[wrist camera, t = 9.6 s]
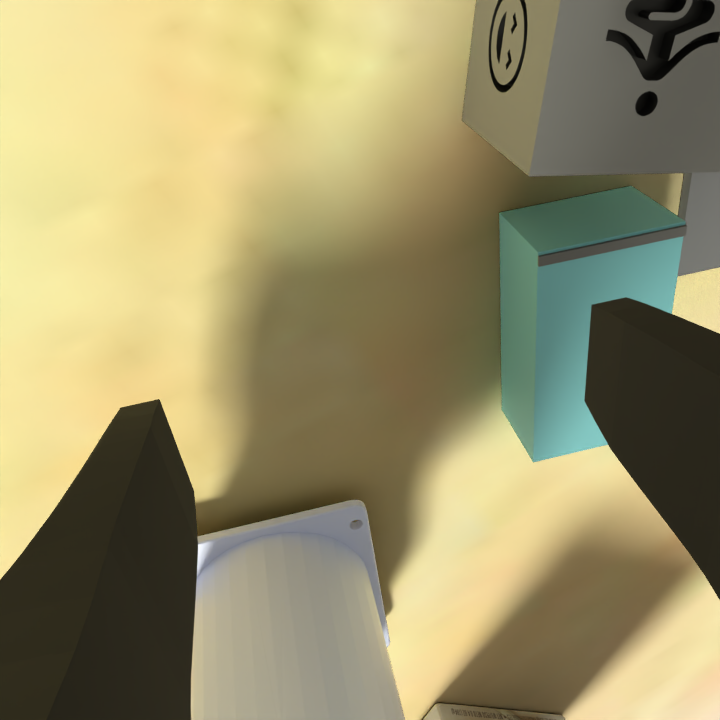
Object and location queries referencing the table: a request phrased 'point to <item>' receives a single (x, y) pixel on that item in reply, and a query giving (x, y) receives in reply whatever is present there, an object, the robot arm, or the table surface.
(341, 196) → the table surface
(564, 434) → the turquoise box
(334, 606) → the robot arm
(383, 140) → the table surface
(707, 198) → the stub pad
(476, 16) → the dice cube
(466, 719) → the coffee box
